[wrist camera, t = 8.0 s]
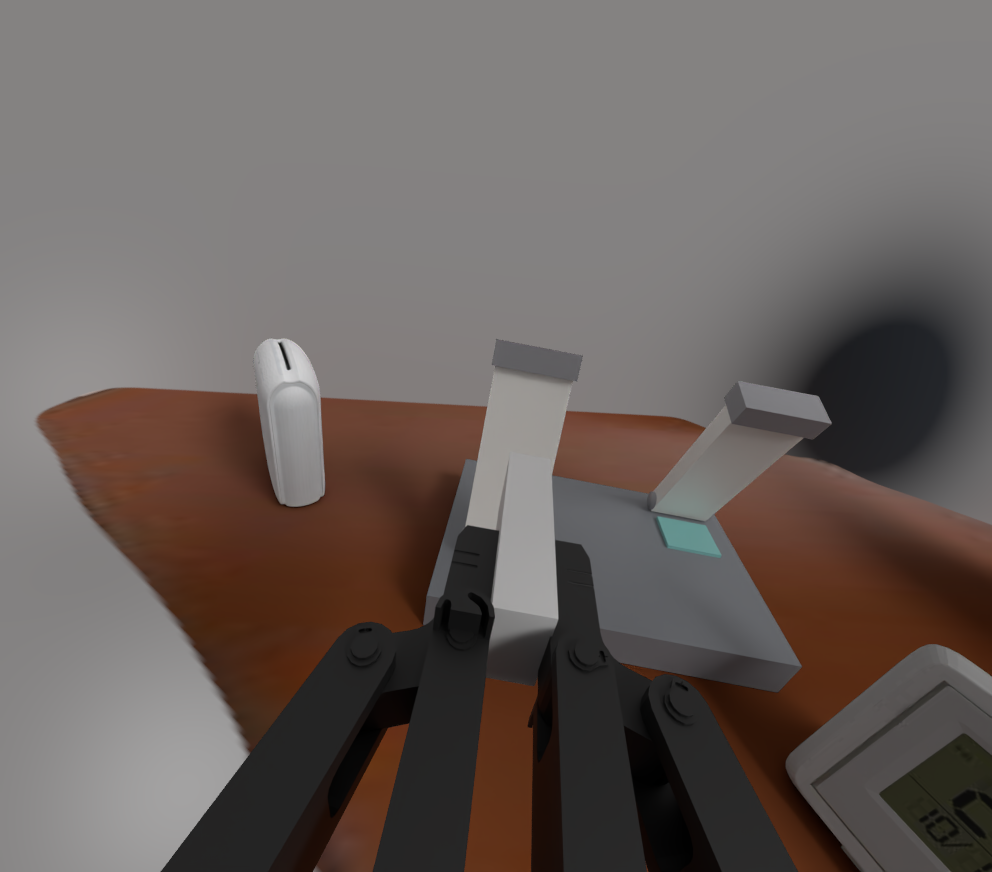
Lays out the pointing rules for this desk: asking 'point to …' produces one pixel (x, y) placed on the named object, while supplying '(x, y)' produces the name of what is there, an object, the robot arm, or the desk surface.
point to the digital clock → (908, 768)
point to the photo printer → (290, 421)
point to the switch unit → (655, 586)
